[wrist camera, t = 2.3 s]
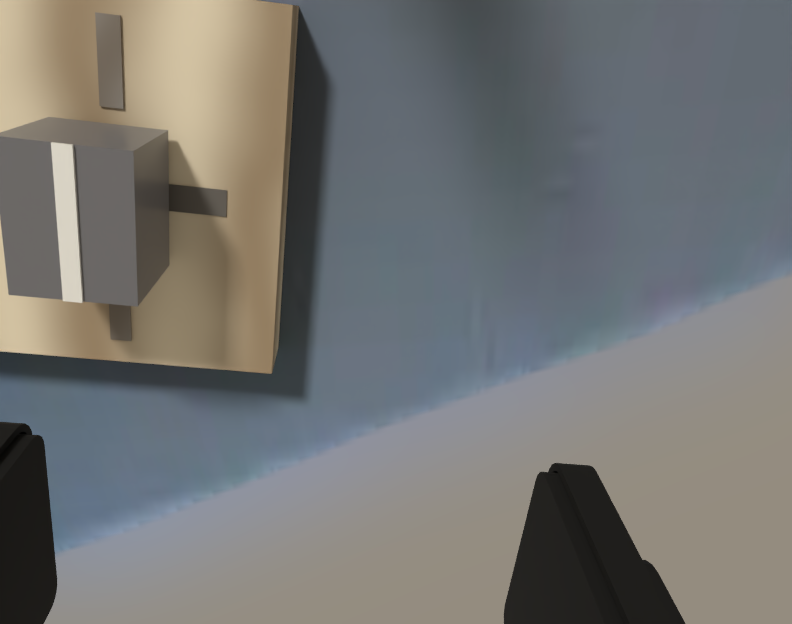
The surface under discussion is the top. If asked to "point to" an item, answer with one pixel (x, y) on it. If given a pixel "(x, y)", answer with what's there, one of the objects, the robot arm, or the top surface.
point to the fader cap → (84, 210)
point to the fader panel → (188, 167)
